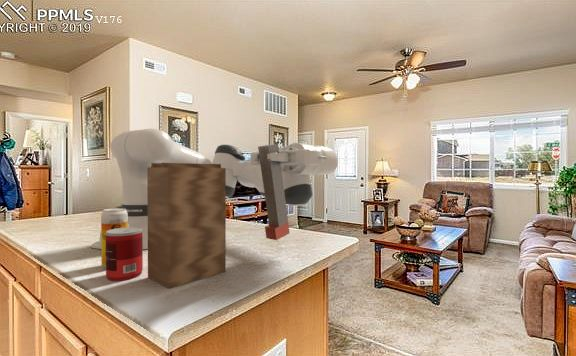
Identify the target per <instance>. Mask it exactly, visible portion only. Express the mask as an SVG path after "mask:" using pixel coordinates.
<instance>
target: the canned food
mask: <svg viewBox="0 0 576 356" xmlns="http://www.w3.org/2000/svg"><path fill="white" fill-rule="evenodd" d="M143 250H144V249H143V235H142V228H138V227H126V228H117V229H112V230H108V231H106V268H105V277H106V279H107V280H108V281H115V282H118V281H119V282H120V281H121V282H122V281H128V280H131V279H134V278H138V277H139V276H140V275H142V272H143V265H144V262H143V261H144V259H143V258H144V257H143V253H144V251H143Z"/></svg>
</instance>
